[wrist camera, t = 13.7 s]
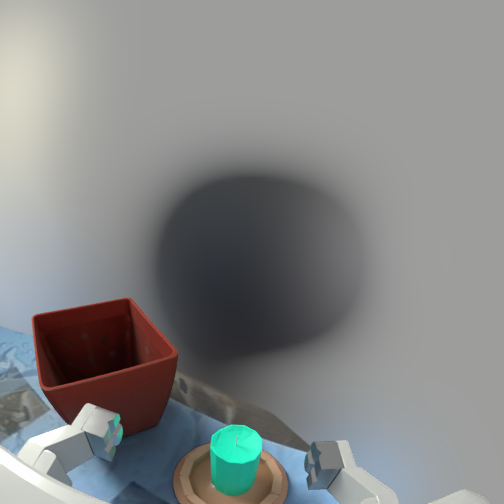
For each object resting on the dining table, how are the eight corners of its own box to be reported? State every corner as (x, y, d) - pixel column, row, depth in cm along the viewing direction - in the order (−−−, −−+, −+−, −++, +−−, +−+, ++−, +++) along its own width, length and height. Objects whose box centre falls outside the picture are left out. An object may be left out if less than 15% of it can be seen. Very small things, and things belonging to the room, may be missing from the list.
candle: (248, 461, 33) (256, 414, 30) (258, 492, 28) (271, 452, 24) (207, 465, 32) (206, 418, 28) (214, 498, 26) (214, 459, 23)
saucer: (150, 478, 28) (148, 471, 27) (226, 428, 40) (227, 420, 40) (236, 549, 19) (238, 546, 18) (308, 477, 31) (311, 471, 30)
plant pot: (139, 367, 52) (130, 295, 47) (187, 430, 39) (181, 353, 34) (56, 389, 39) (31, 314, 35) (83, 466, 26) (40, 392, 21)
